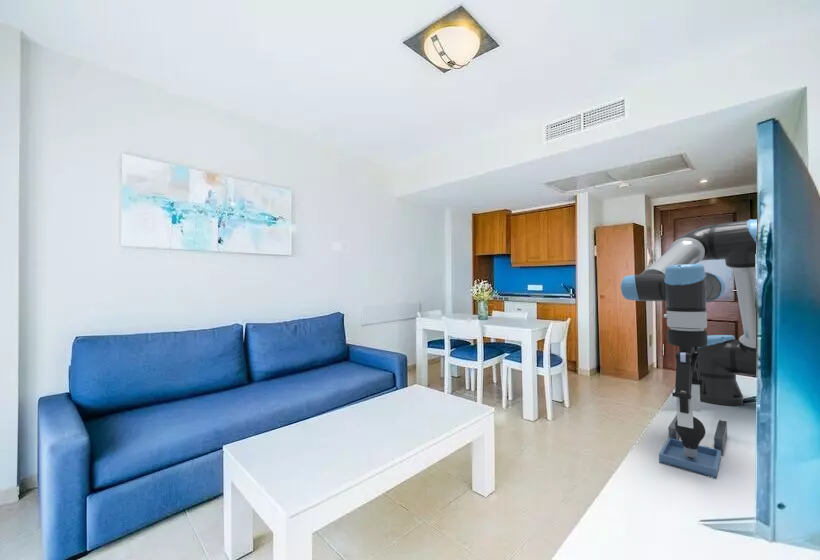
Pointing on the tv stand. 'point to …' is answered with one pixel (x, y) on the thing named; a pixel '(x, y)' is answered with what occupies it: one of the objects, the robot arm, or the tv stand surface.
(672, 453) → the parts tray
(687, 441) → the black round speckled part
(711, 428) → the tv stand surface
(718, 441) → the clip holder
